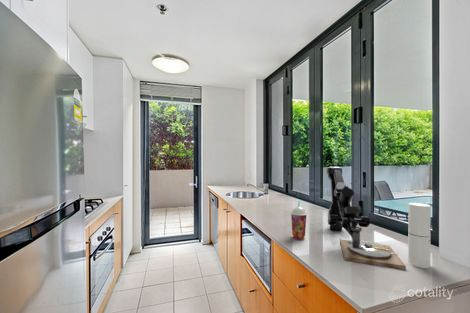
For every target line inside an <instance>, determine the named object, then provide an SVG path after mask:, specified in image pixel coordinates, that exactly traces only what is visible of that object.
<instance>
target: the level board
mask: <svg viewBox="0 0 470 313" xmlns="http://www.w3.org/2000/svg"><path fill="white" fill-rule="evenodd" d="M349 241H351V240H349V239H343V238H342V239H341V238H340V240H339V242H340V247H341V252H342V256H343V260H344V261H347V262H348V261H349V262H355V263H361V264H367V265H374V266H380V267H386V268H387V267H388V268H393V269H399V270H404V271H405V270H406V266H407V265H406V264H405V263H404V262H403V260H401V258H400V256H399V255H398V253H396V252H395V250H394V249H393V248H392V247H391V245H390V244H389V245H388V244H383V245H384V246H386V247H388V248H389V249H390V250H391V256H390V257H388V258H371V257H366V256H362V255H359V254H356V253H354V252H352V251H351V250H350V249H349V248H348V242H349Z"/></svg>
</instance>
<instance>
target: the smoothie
mask: <svg viewBox="0 0 470 313" xmlns="http://www.w3.org/2000/svg"><path fill="white" fill-rule="evenodd" d="M297 203H298V204H297V206H295V207H293V208H292V210H291V212H290V216H291V234H292V238H293V239H295V240H300V241H301V240H304V239H305V237H306V229H307V228H306V226H307V215H308V213H307V212H306V209H305V208H304V207H302V206H301V205H300V201H298V202H297Z"/></svg>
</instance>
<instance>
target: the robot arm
mask: <svg viewBox="0 0 470 313" xmlns="http://www.w3.org/2000/svg"><path fill="white" fill-rule="evenodd" d="M326 174H327V178H328V179H329V180H330V192H331V204H330V205H329V209H328V210H327V224H328V225H329V230H330V231H336V232H342V230H343V229H344V230H345V231H346V232H347V234H348V235H349V236H350V237H351V238H352V239H353V230H351V227H358V226H359V228H368V227H369V225H371V223H372V219H371V218H370V217H369V216H362V215H361V216H360V217H359V218H356V217H357V215H359V214H361V213H362V207H361V206H360V205H356V206H351V202H352V201H353V197H354V195H355V191H354V189H352V188H349V186H348V185H346V184H345V181H344V177H343V168H342V167H339V166H329V167H328V168H326Z"/></svg>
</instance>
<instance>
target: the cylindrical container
mask: <svg viewBox="0 0 470 313" xmlns="http://www.w3.org/2000/svg"><path fill="white" fill-rule="evenodd" d="M407 206H408V211H407V212H408V213H407V214H408V223H407V224H408V227H407V229H408V230H407V231H408V234H407V235H408V237H407V239H408V244H407V245H408V246H407V248H408V249H407V250H408V251H407V253H408V254H407V255H408V256H407V261H408V264H410V265H412V266H414V267H417V268H422V269H430V268H431V214H432V213H431V212H432V210H431V208H432V207H431V205H430V204H426V203H420V202H409V203H408V205H407Z"/></svg>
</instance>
